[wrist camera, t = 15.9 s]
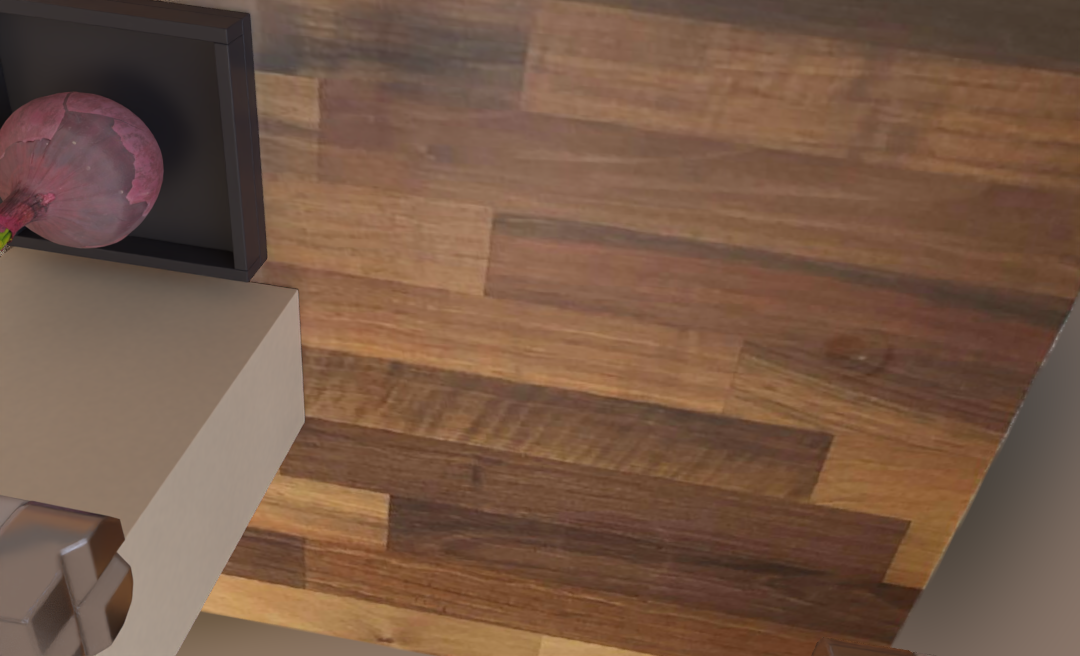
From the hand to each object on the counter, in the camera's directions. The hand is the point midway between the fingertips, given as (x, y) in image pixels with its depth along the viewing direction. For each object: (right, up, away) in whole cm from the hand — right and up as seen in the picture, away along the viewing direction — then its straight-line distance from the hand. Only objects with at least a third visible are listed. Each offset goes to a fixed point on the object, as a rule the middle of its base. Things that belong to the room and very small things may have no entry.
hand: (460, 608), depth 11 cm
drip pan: (-17, +12, +30) cm, 36 cm away
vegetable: (-17, +12, +29) cm, 36 cm away
